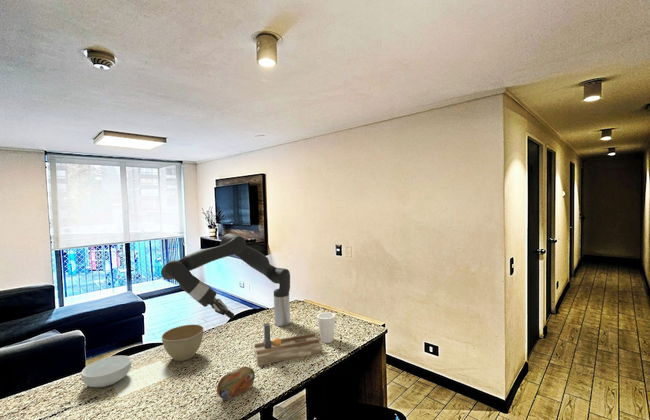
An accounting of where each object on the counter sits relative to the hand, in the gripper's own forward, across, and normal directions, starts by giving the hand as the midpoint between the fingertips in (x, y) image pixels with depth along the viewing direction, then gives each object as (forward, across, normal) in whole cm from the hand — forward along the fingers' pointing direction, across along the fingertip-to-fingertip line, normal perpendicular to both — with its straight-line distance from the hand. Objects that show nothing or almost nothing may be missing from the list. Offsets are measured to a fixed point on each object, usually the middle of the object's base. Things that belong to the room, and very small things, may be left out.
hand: (232, 316), depth 137 cm
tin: (+15, -23, +16) cm, 32 cm away
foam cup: (+48, +5, -18) cm, 52 cm away
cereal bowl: (-20, +6, +51) cm, 55 cm away
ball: (+25, 0, -3) cm, 25 cm away
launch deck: (+32, 0, -2) cm, 32 cm away
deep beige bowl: (-1, +16, +31) cm, 35 cm away
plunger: (+23, 0, +1) cm, 23 cm away
